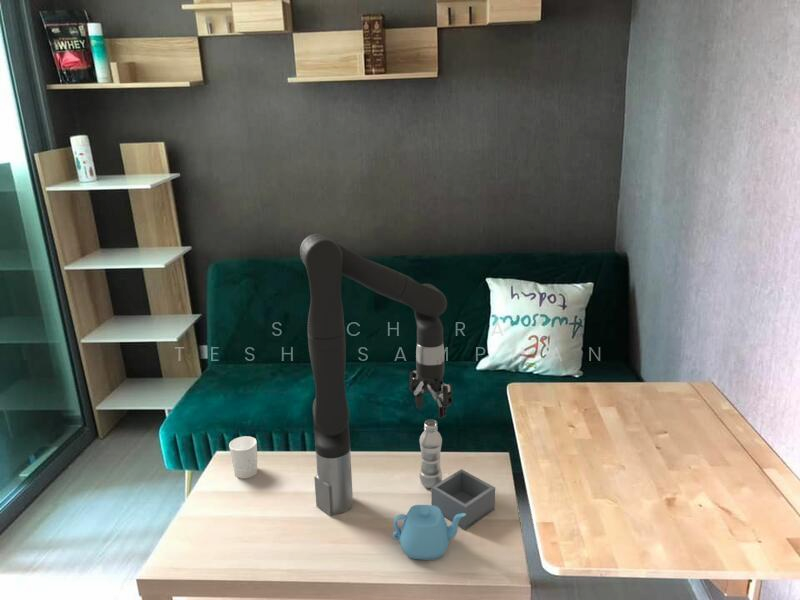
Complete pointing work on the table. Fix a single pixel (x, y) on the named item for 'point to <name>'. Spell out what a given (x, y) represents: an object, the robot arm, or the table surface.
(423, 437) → the plastic bottle
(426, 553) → the teapot
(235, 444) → the white cup
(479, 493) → the gray square open box
